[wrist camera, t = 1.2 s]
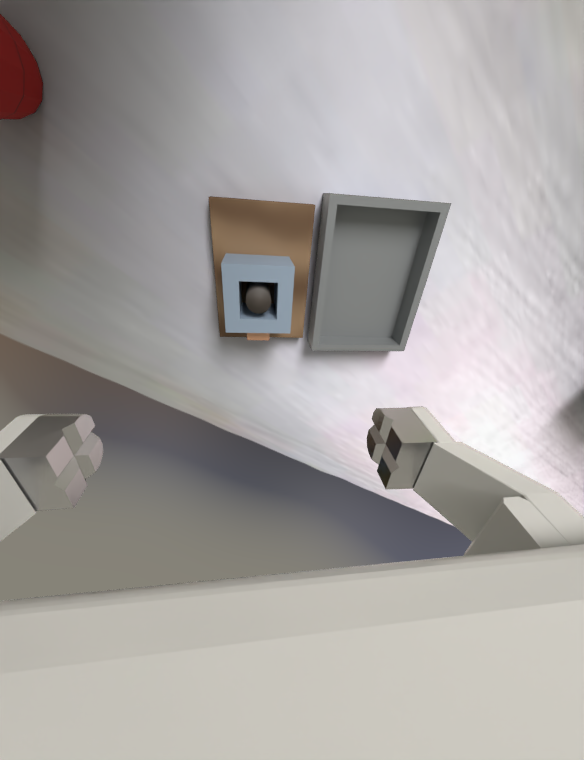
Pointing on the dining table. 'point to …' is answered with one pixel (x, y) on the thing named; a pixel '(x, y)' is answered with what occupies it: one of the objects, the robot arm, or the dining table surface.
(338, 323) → the tray
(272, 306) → the collar
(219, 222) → the board
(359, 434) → the dining table surface
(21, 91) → the plastic cup
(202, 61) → the dining table surface
